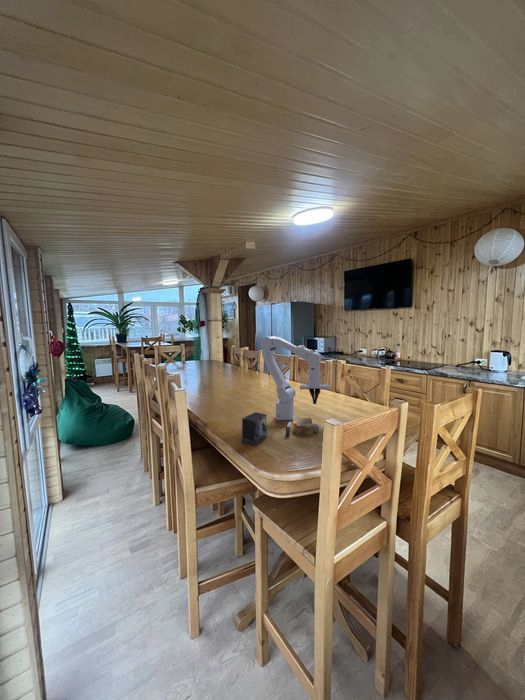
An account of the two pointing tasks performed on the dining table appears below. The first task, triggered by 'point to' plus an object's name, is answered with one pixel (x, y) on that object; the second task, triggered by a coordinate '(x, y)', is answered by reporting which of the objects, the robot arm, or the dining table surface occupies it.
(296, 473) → the dining table surface
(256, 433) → the small box
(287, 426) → the keeper post
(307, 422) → the block
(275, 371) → the robot arm
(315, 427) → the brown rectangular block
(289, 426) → the bar
